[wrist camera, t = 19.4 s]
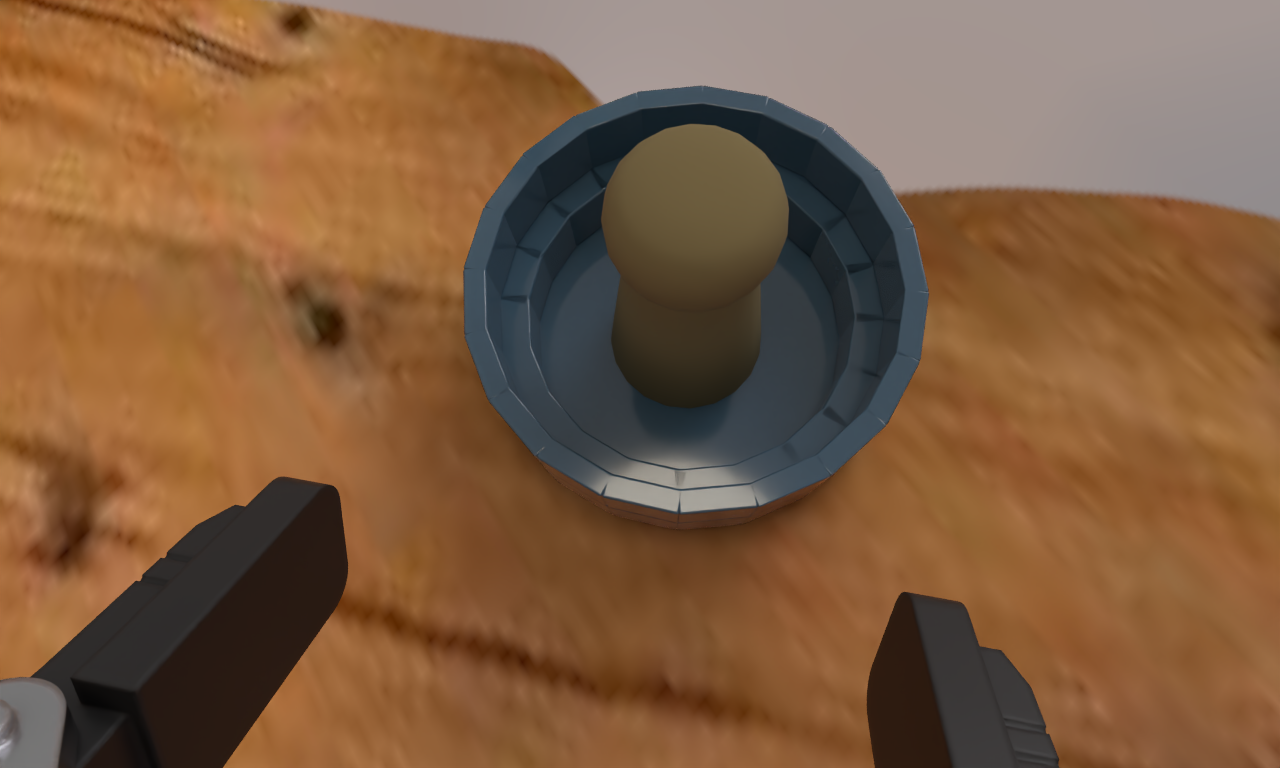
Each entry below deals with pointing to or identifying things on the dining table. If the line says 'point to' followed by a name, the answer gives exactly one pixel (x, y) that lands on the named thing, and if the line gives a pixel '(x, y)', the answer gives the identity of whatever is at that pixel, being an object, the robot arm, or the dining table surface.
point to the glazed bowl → (790, 320)
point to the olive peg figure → (692, 260)
